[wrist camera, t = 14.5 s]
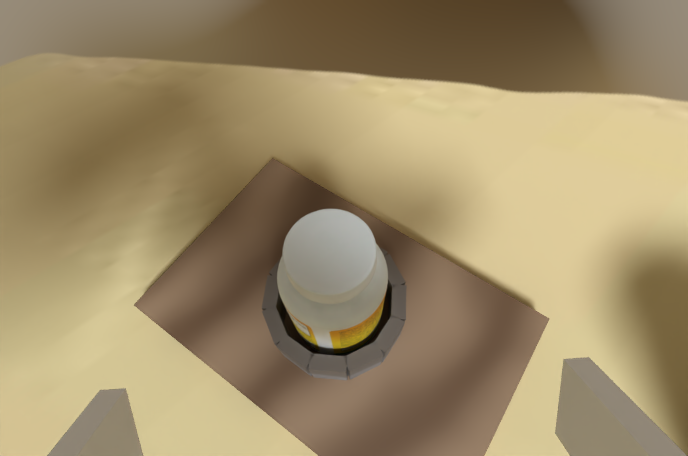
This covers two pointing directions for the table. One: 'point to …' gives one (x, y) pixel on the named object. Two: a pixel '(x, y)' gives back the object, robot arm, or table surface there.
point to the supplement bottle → (333, 281)
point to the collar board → (384, 402)
